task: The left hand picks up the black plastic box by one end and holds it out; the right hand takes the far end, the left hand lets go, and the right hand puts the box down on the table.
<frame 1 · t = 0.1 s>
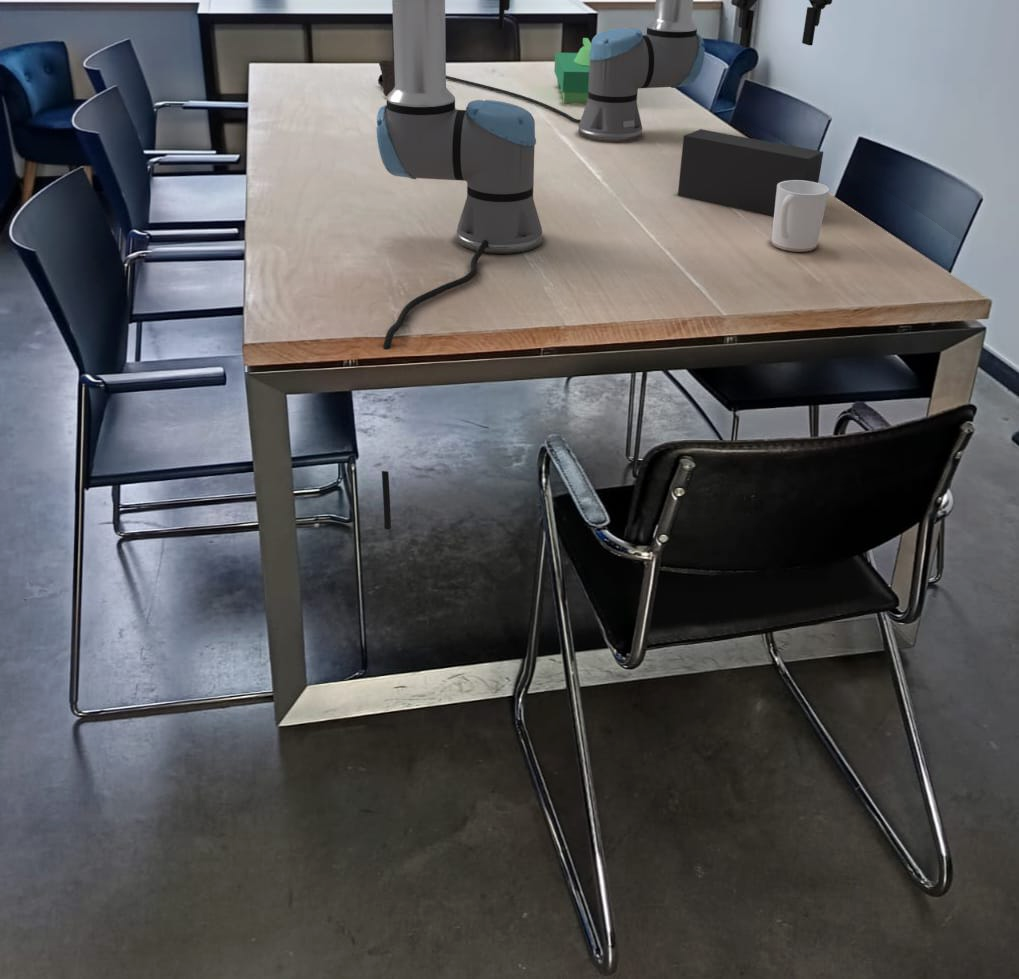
left hand: (468, 26, 224), 28 cm above the table, tool pointing down, fingers open, 13 cm apart
right hand: (776, 45, 212), 28 cm above the table, tool pointing down, fingers open, 13 cm apart
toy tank: (588, 92, 304), on the table
mug: (791, 246, 196), on the table
axe head: (403, 91, 300), on the table
box: (744, 204, 218), on the table
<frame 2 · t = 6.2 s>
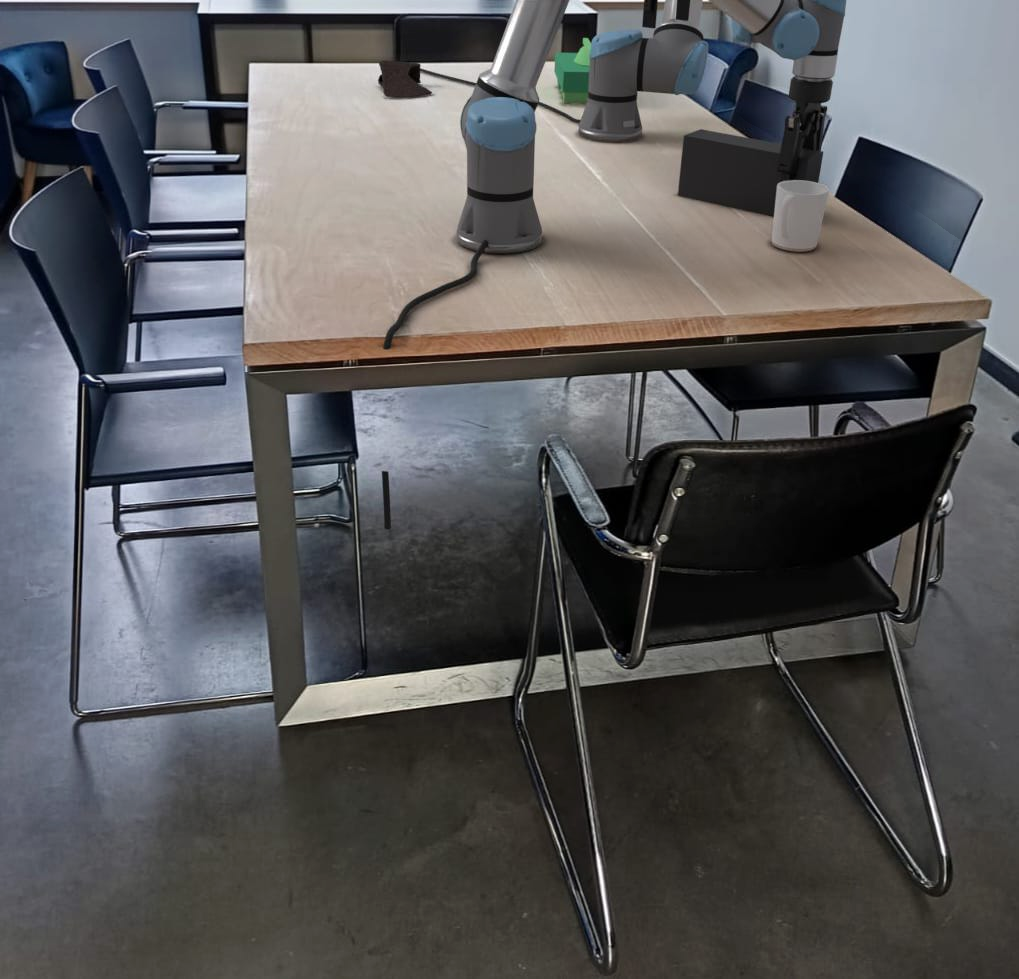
left hand: (792, 201, 211), 2 cm above the table, tool pointing down, fingers closed on box, 7 cm apart
right hand: (665, 23, 227), 29 cm above the table, tool pointing down, fingers open, 13 cm apart
box: (744, 204, 218), on the table, touching left hand
everything else where it was.
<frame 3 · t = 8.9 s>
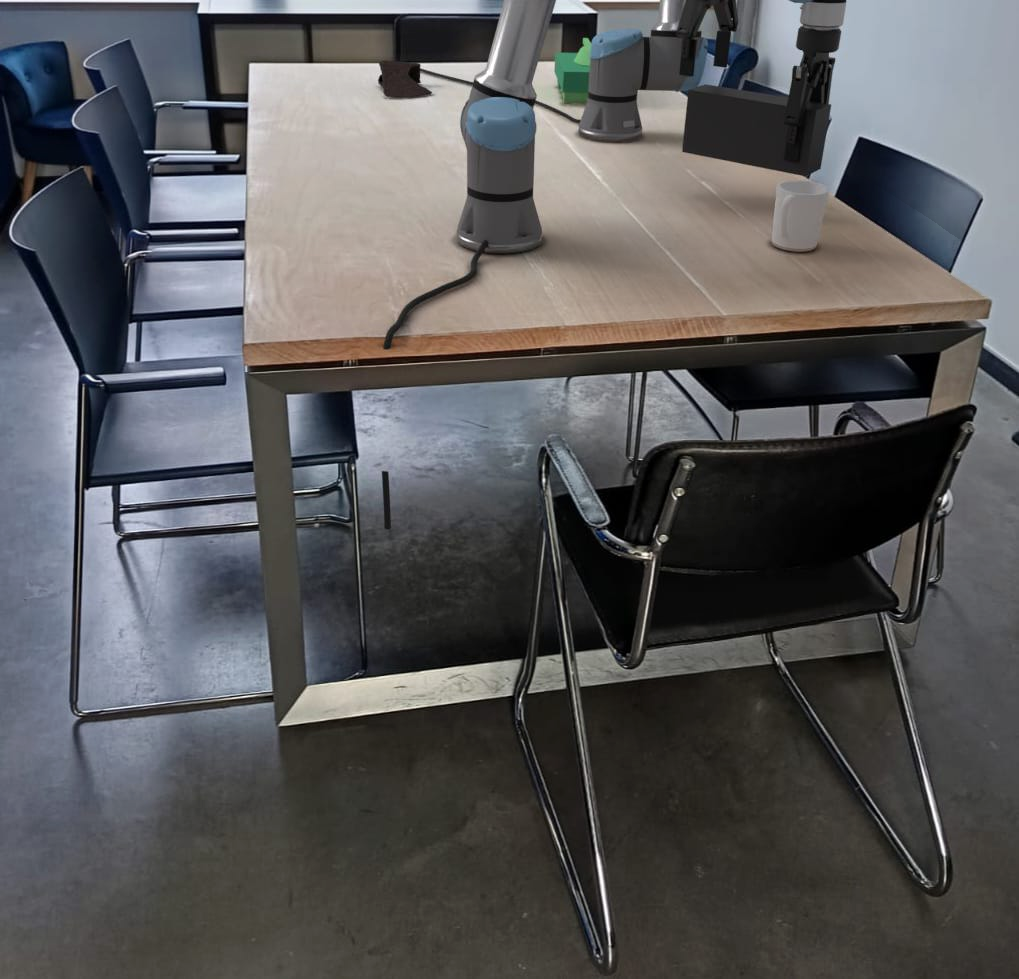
left hand: (799, 156, 207), 11 cm above the table, tool pointing down, fingers closed on box, 7 cm apart
right hand: (703, 71, 214), 23 cm above the table, tool pointing down, fingers open, 13 cm apart
box: (749, 160, 213), point 9 cm above the table, touching left hand
everything else where it was.
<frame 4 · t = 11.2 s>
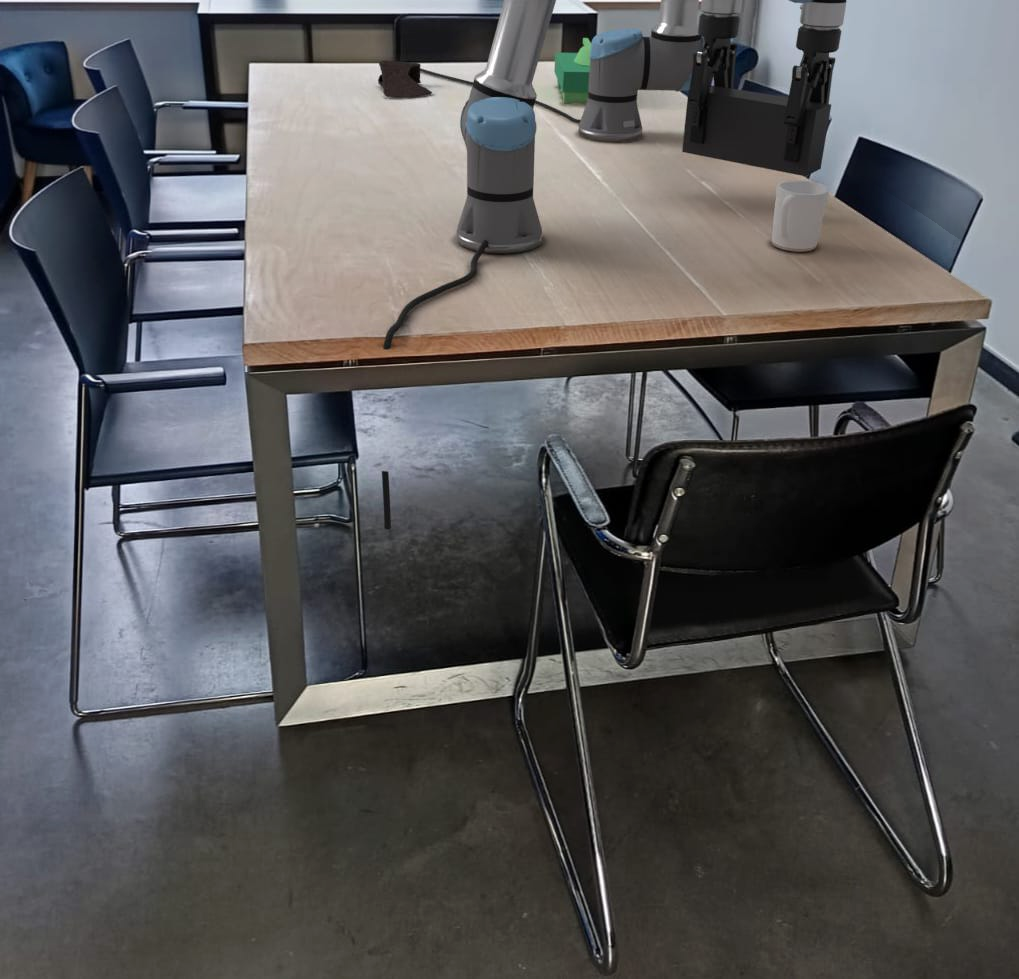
left hand: (799, 156, 207), 11 cm above the table, tool pointing down, fingers closed on box, 7 cm apart
right hand: (706, 138, 217), 11 cm above the table, tool pointing down, fingers closed on box, 7 cm apart
box: (749, 160, 213), point 9 cm above the table, touching left hand, right hand
everything else where it was.
when the left hand's fingers open (11 cm above the table, at t = 12.1 s): box stays where it is, held by the right hand.
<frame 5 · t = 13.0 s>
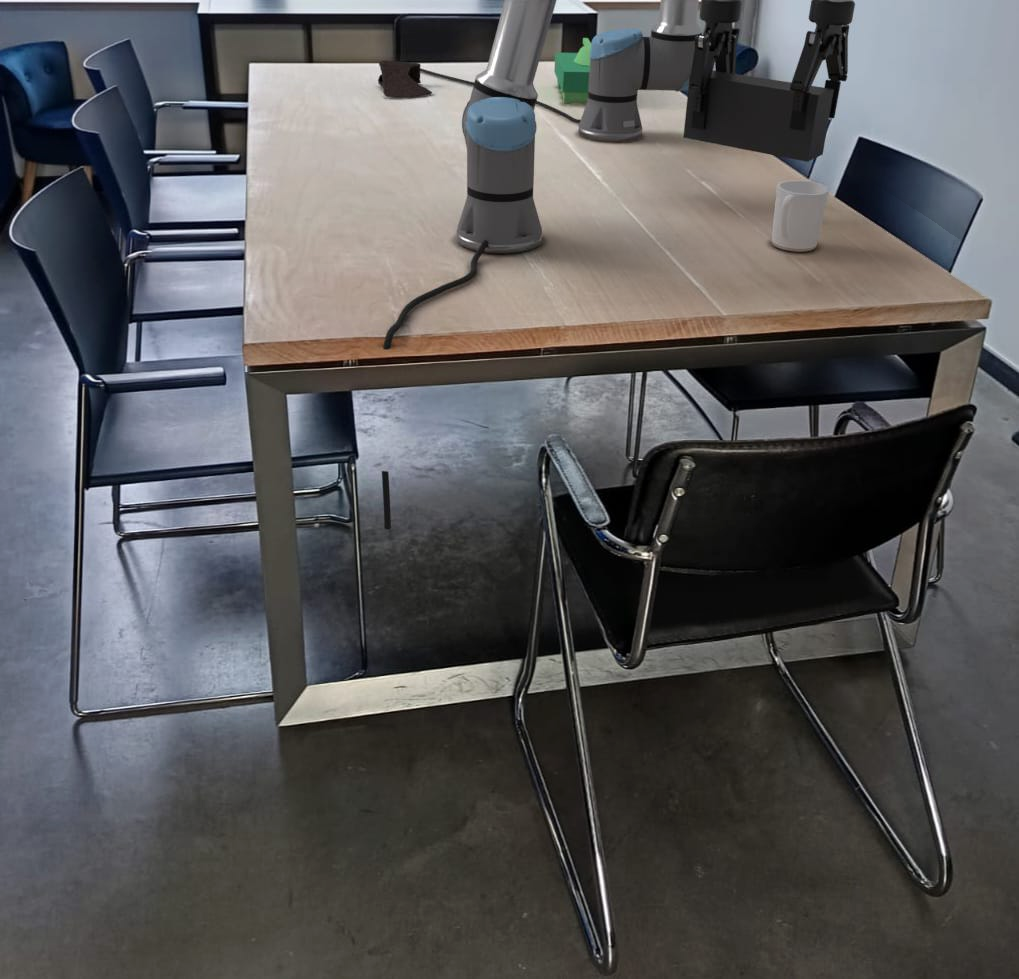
left hand: (812, 123, 203), 17 cm above the table, tool pointing down, fingers open, 13 cm apart
right hand: (707, 124, 215), 14 cm above the table, tool pointing down, fingers closed on box, 7 cm apart
box: (751, 145, 212), point 11 cm above the table, touching right hand
everything else where it was.
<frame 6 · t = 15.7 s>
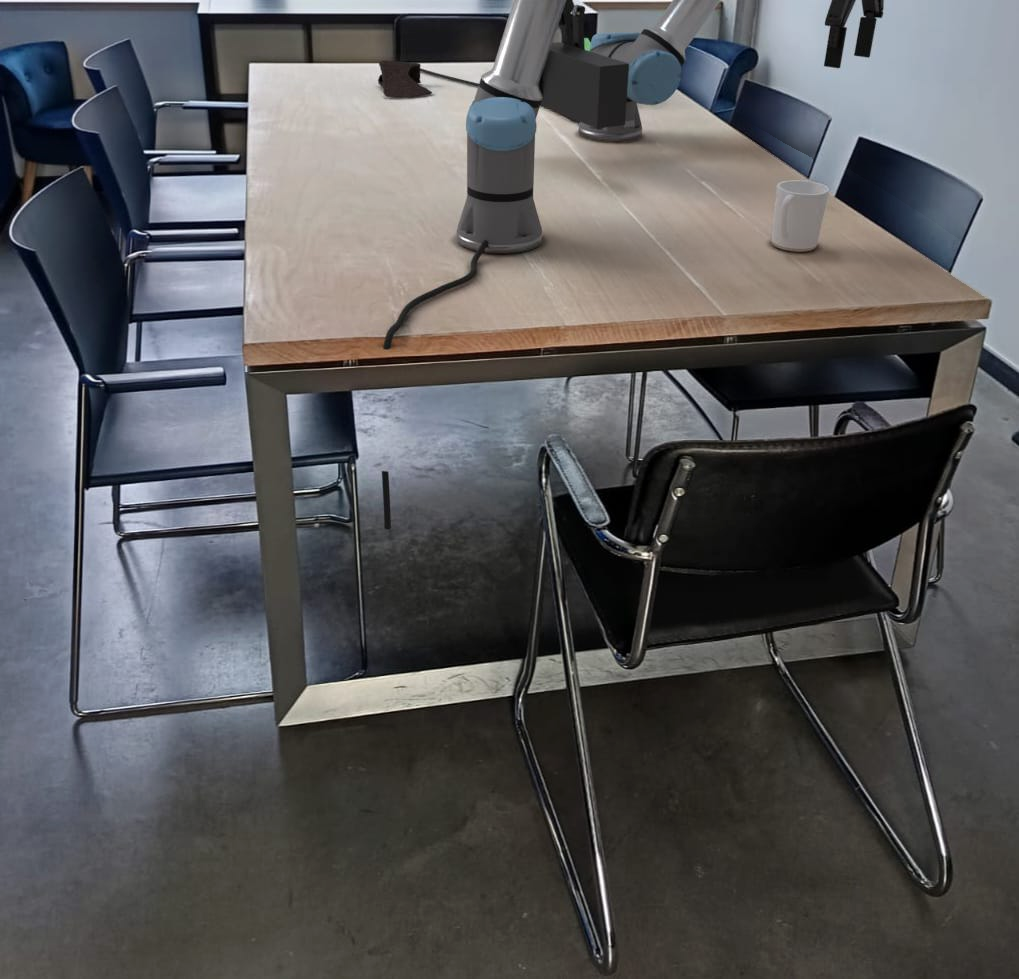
left hand: (847, 61, 194), 29 cm above the table, tool pointing down, fingers open, 13 cm apart
right hand: (552, 91, 238), 14 cm above the table, tool pointing down, fingers closed on box, 7 cm apart
box: (576, 113, 232), point 12 cm above the table, touching right hand
everything else where it was.
when the right hand's fingers open (4 cm above the table, at t = 20.2 s): box drops 2 cm, on the table.
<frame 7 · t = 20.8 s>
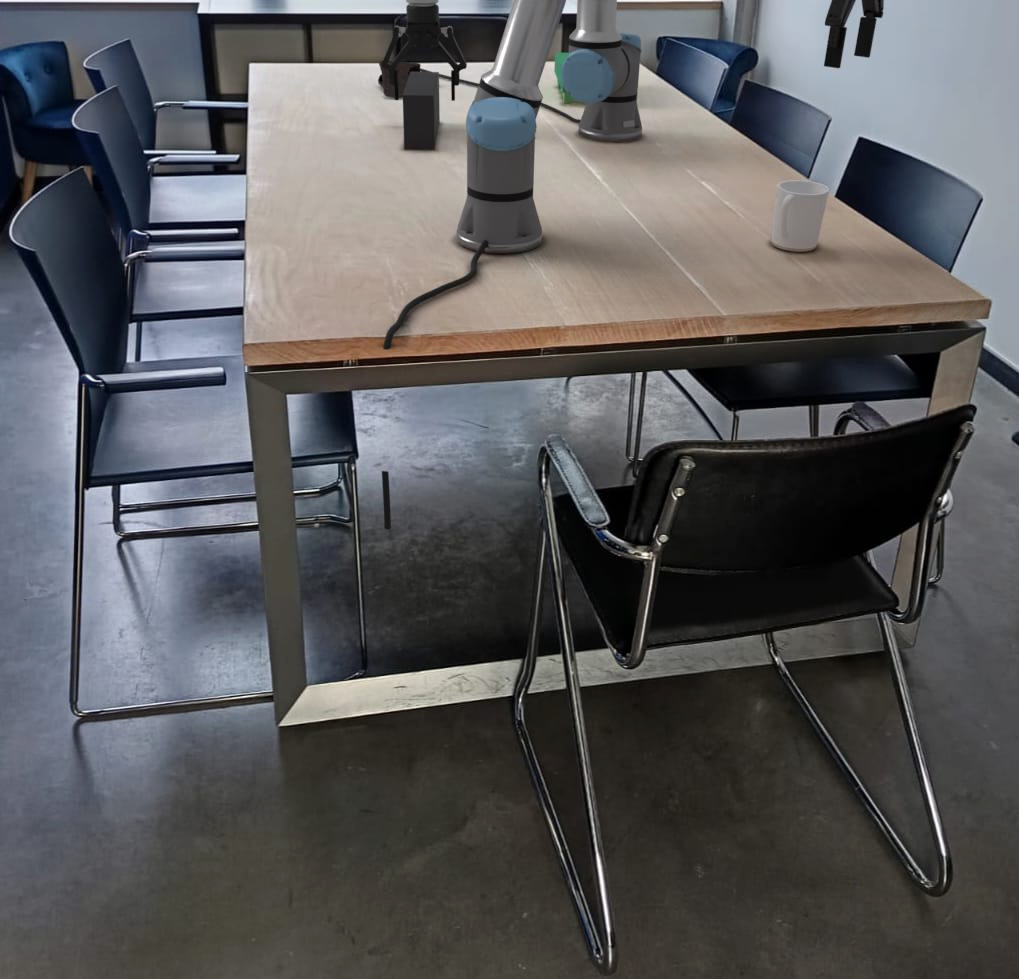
left hand: (847, 61, 194), 29 cm above the table, tool pointing down, fingers open, 13 cm apart
right hand: (425, 99, 264), 6 cm above the table, tool pointing down, fingers open, 13 cm apart
box: (422, 135, 259), on the table
everything else where it was.
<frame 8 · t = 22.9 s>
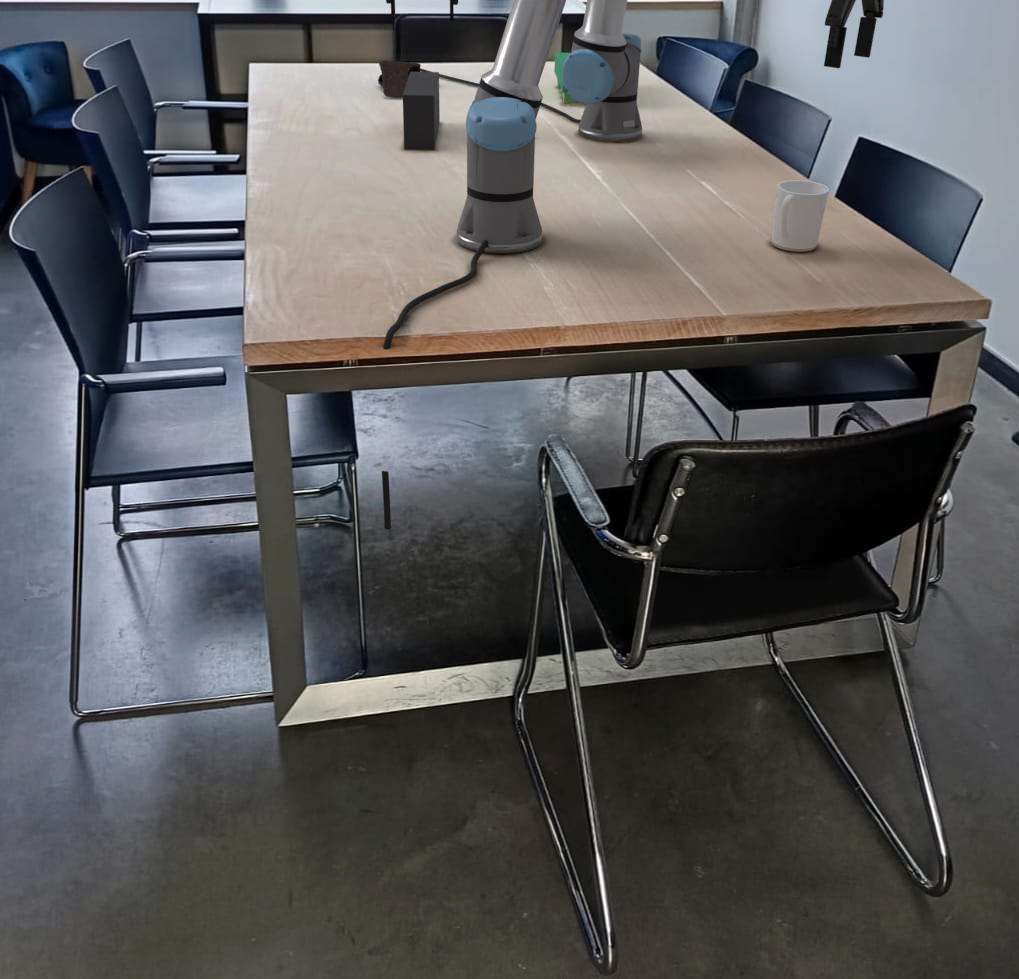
left hand: (847, 61, 194), 29 cm above the table, tool pointing down, fingers open, 13 cm apart
right hand: (422, 19, 255), 24 cm above the table, tool pointing down, fingers open, 13 cm apart
nothing on the table moved.
at the end: box inside the target area (9.8 cm from its centre), on the table; the left hand is holding nothing; the right hand is holding nothing; box at rest at the end (0.0 cm/s) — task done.
